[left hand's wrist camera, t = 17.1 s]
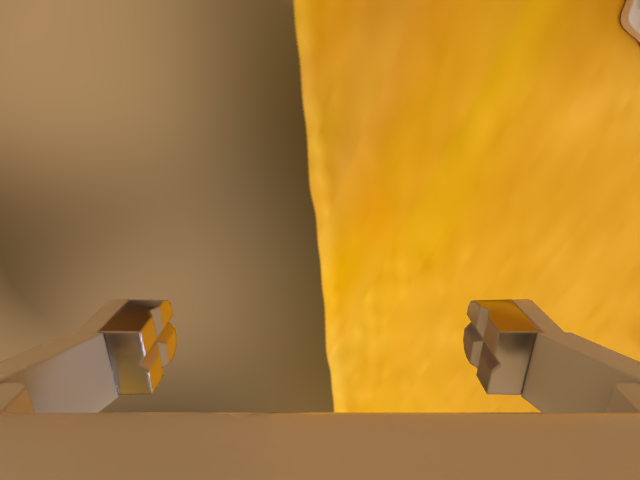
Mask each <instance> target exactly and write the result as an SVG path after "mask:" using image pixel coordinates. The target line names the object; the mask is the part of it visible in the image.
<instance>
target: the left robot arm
mask: <svg viewBox="0 0 640 480" xmlns="http://www.w3.org/2000/svg"><path fill="white" fill-rule="evenodd" d="M620 20H621V24H622V26H623V28H624V29H625V30H626V31H627V32H628V33H629V34H630V35H631V36H633V37H634V38H635V39H637V40H638V42H639V43H640V0H626V3H625V5H624V8H623V11H622V13H621V18H620ZM172 315H173V312H172V307H171V303H170V302H169V301H168V300H135V299H134V300H133V299H132V300H130V299H114V300H109V301H107V302H106V303H105V304H104V305H103V306H102V307H101V308H100V309H99V310H98V311H97V312H96V313H95V314H94V315H93V316H92V317H91V318H90V319H89V320H88V321H87V322H86V323H85V324H84V325H83V326H82V327H81V328H80V329H79V330H77V331H76V332H75V333H67V334H65V335H62V336H60V337H58V338H56V339H53V340H51V341H49V342H46V343H44V344H41V345H39V346H37V347H34V348H32V349H30V350H27V351H25V352H23V353H20V354H18V355H16V356H13V357H11V358H9V359H6V360H4V361H1V362H0V480H640V362H638V361H636V360H634V359H631V358H629V357H627V356H624V355H622V354H620V353H617V352H615V351H613V350H610V349H608V348H606V347H603V346H601V345H599V344H596V343H594V342H592V341H589V340H587V339H585V338H582V337H580V336H578V335H575V334H573V333H565V332H564V331H563V330H561V329H560V328H559V327H558V326H557V325H556V324H555V323H554V322H553V321H552V320H551V319H550V318H549V317H548V316H547V315H546V314H545V313H544V312H543V311H542V310H541V309H540V308H539V307H538V306H537V305H536V304H535V303H534V302H533V301H531V300H528V299H515V300H474V301H471V302H470V304H469V306H468V311H467V315H468V317H469V318H470V320H471V323H470V324H469V325H468V326H467V327H466V328H465V330H464V338H463V342H464V350H465V354H466V357H467V359H468V361H469V363H470V364H472V365H473V366H475V367H476V368H478V370H477V377H478V379H479V381H480V382H481V384H482V386H483V388H484V389H485V391H486V393H487V394H503V395H522V396H521V397H523V398H524V399H525V400H527V401H528V402H529V403H531V404H532V405H533V406H535V407H536V408H537V409H538V410H540V411H541V412H542V413H98V412H99V411H100V410H102V409H103V408H104V407H106V406H107V405H108V404H109V403H111V402H112V401H113V400H115V399H116V398H117V397H118V395H136V394H153V393H154V391H155V389H156V388H157V386H158V384H159V382H160V380H161V379H162V377H163V370H162V368H164V367H165V366H167V365H168V364H170V363H171V361H172V359H173V357H174V354H175V349H176V340H177V337H176V330H175V328H174V327H173V326H172V325H171V324H170V323H169V320H170V318H171V317H172Z"/></svg>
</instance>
